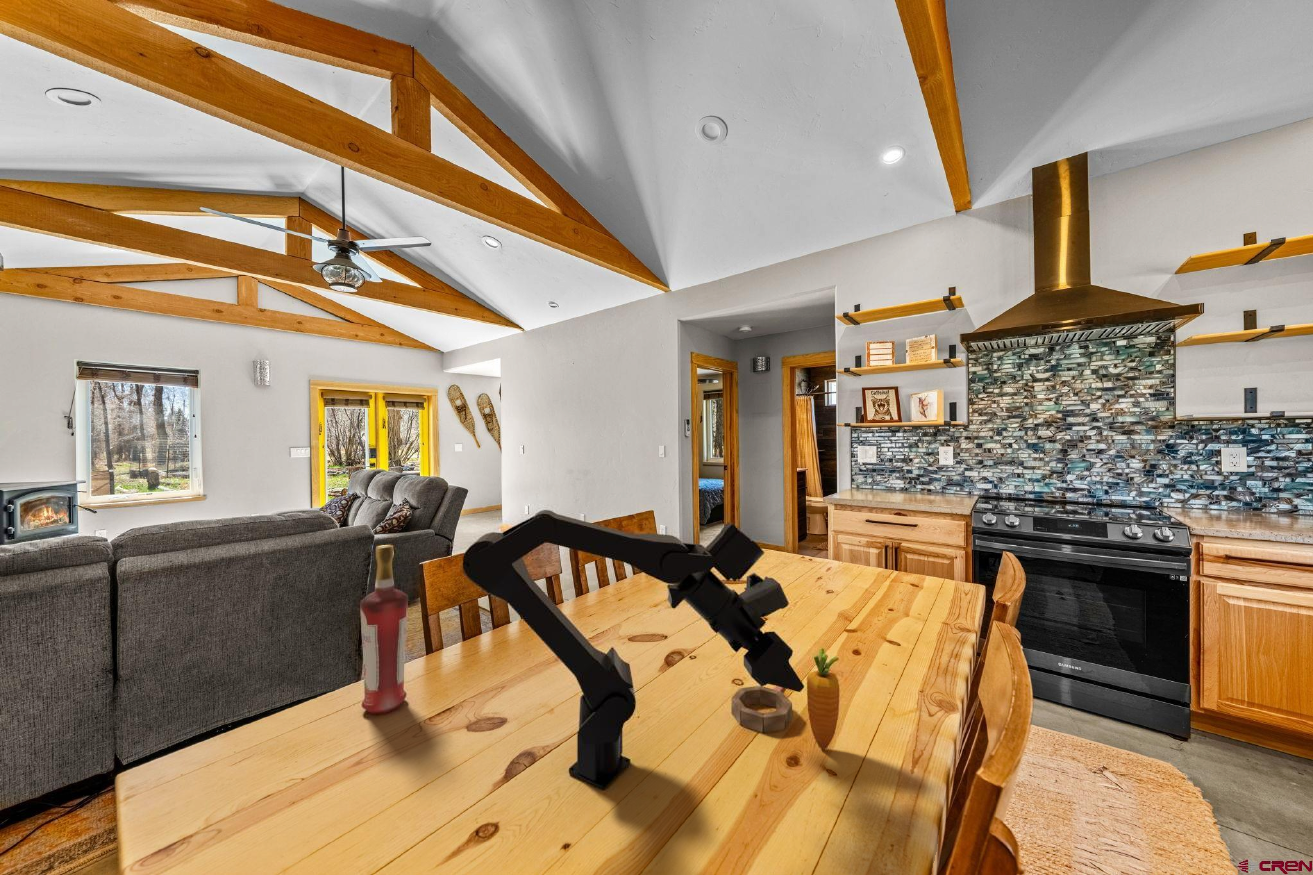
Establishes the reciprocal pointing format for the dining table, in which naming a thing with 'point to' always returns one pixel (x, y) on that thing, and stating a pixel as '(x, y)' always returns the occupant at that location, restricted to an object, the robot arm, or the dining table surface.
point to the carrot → (823, 700)
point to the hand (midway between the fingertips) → (788, 673)
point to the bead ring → (758, 719)
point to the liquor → (384, 639)
